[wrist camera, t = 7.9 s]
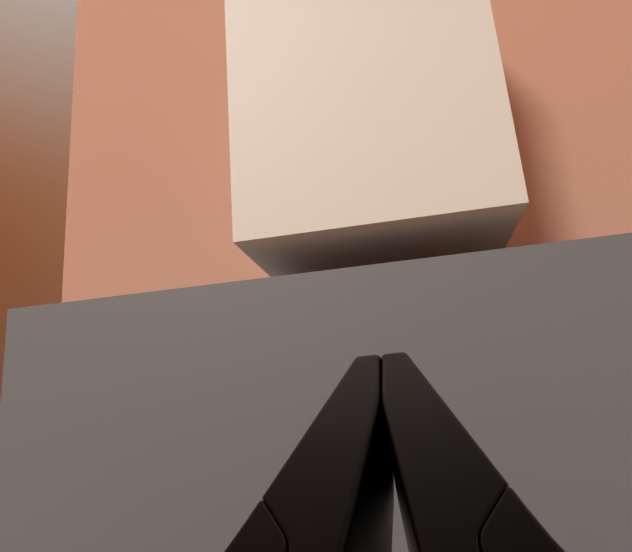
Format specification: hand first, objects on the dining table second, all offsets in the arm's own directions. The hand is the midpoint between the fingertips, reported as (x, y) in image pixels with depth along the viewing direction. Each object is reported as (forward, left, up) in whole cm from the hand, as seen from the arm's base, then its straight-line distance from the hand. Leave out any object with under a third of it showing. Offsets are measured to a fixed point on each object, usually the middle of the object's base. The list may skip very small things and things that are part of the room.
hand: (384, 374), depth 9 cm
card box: (+3, -2, -5) cm, 6 cm away
